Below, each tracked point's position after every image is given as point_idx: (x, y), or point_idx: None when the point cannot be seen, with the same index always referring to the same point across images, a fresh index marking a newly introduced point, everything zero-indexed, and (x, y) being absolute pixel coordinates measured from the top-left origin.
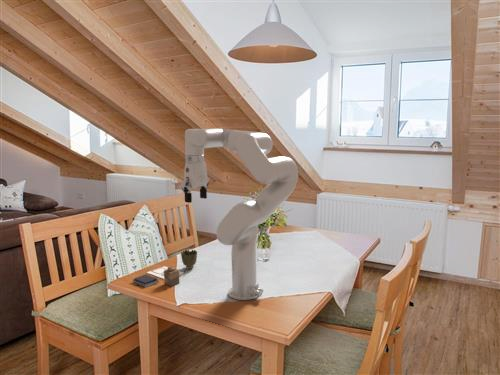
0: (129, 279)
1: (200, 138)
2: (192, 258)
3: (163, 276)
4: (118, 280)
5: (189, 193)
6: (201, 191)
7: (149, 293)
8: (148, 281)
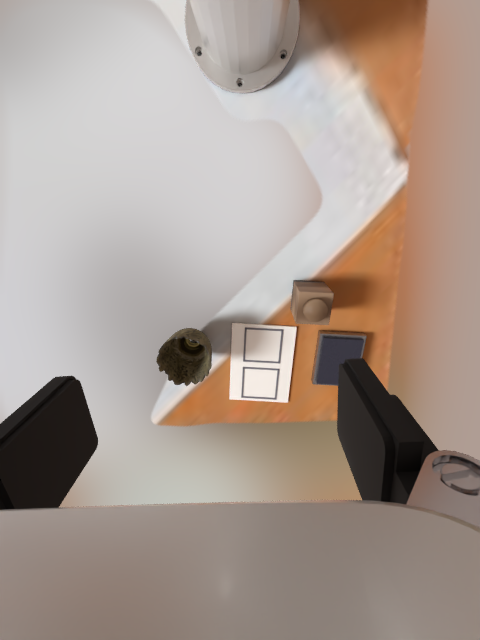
0: None
1: None
2: (193, 334)
3: (284, 348)
4: None
5: (414, 455)
6: (46, 491)
7: (389, 294)
8: (352, 340)
